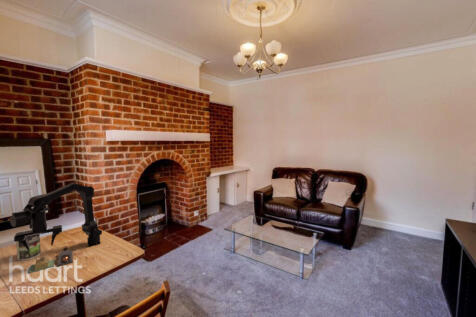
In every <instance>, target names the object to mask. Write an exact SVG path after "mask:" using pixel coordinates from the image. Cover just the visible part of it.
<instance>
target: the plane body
mask: <svg viewBox="0 0 476 317" xmlns="http://www.w3.org/2000/svg"><path fill="white" fill-rule="evenodd" d="M57 256H58V258H57V259H58V260H57V267H62V266H66V265H69V264H70V265H71V264H73V263H74V259H73V258H74V257H73V256H74V255H73V250H72V249H71V250H70V249H68V245H65V246H63V247H62V250H61V251H60V252H59V253H58V255H57Z"/></svg>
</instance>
